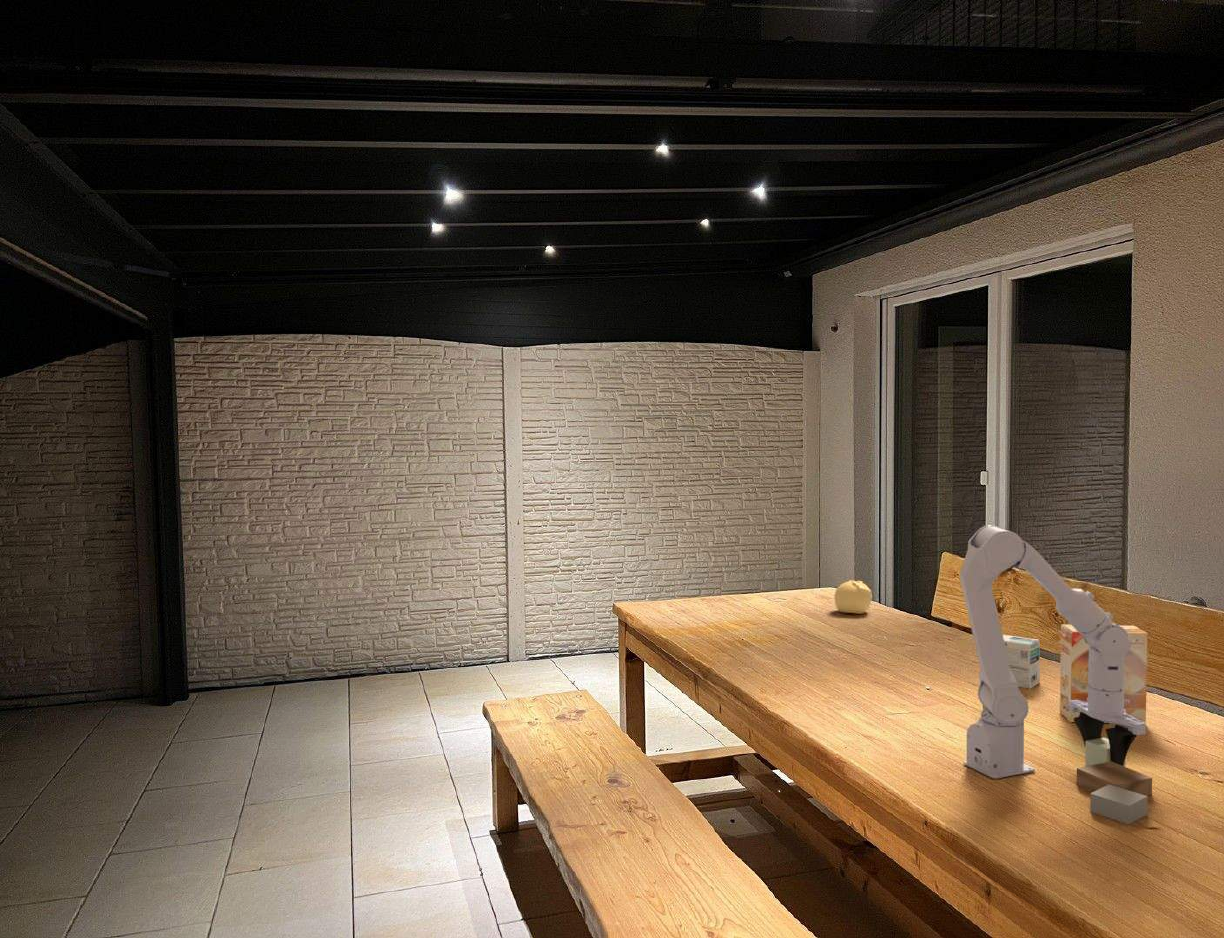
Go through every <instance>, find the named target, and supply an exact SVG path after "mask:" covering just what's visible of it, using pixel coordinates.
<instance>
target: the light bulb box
mask: <svg viewBox="0 0 1224 938" xmlns="http://www.w3.org/2000/svg"><path fill="white" fill-rule="evenodd" d="M1003 638H1004V643H1005V647H1006V651H1007V656H1008V660H1009V664H1010V668H1011V671H1012V673H1013V675H1014V677H1015V679H1016V681H1017V684H1018V688H1024V689H1032V688H1034V687H1036V686H1037V685H1038V684H1040V683H1041V667H1040V666H1041V663H1040V662H1041V661H1040V660H1041V659H1040V656H1041V654H1040V653H1041V652H1040V650H1041V647H1040V646H1041V644H1040V643H1041V642H1040V641H1041V640H1040V639H1038V638H1030V637H1029V638H1028V637H1023V636H1014V635H1008V634H1003Z"/></svg>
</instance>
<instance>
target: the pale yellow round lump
mask: <svg viewBox="0 0 1224 938" xmlns="http://www.w3.org/2000/svg"><path fill="white" fill-rule="evenodd" d="M872 600H873V592H872V590H871V589H870V588H869V586H868V585H867V584H865V583H864V582H863V581H862V580H857V581H856V580H854V579H853V580H852V579H849V580H848V581H846V582H842V583H841V584H840V585H839V586H838V587H837V588H836V590H835V592H834V604H835V607H836V609H837V610H838V611H839V612H840V613H846V614H847V613H848V614H850V613H851V614H857V615H858V614H859V615H862V614H865V613H866V612H867V611H868V610H869V609H870V608H871V603H872Z"/></svg>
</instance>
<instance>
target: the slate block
mask: <svg viewBox="0 0 1224 938" xmlns="http://www.w3.org/2000/svg"><path fill="white" fill-rule="evenodd" d="M1089 800H1090V802H1089V804H1090V806H1089V807H1090V813H1093V814H1096V815H1099V816H1102V817H1105V818H1109V819H1111V820H1113V821H1114V820H1115V821H1117V822H1120V823H1124V824H1126V825H1129V826H1130V825H1131V824H1133V823H1135V822H1136V821H1138V820H1140V819H1141V818H1144V817H1145V816H1148V796H1145V795H1142V794H1138V793H1135V792H1132V791H1129V790H1126V789H1122V788H1119V787H1116V786H1113V785H1107V786H1105V787H1103V788H1101V789H1099V790H1097V791H1095V792H1091V793H1090V799H1089Z"/></svg>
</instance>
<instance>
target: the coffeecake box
mask: <svg viewBox="0 0 1224 938" xmlns="http://www.w3.org/2000/svg"><path fill="white" fill-rule="evenodd" d="M1117 625H1118V624H1117ZM1118 626H1120V627H1122V628H1123V629H1125V630H1126V632H1127V633H1128V638H1129V640H1130V641H1132V644H1131V648H1130V649H1129V651H1128V652H1127V653H1126V654H1125V662H1124V664H1125V677H1124V710H1126V713H1127V714H1128V715H1130V716H1132V717H1134V718H1135V719H1137V720H1139V721H1141V722H1144V723H1146V722H1147V719H1146V718H1147V685H1148V684H1147V681H1148V680H1147V677H1148V675H1147V674H1148V671H1147V670H1148V668H1147V667H1148V632H1146V631H1145V630H1144V629H1140V628H1139V627H1137V626H1135V625H1121V624H1120V625H1118ZM1089 647H1091V646H1090V645H1089V644H1087V643H1085V641H1084V639H1083V636H1082V635H1081V634H1080V633H1079V632H1078V631H1077V630H1076V629H1075V628H1074V627H1073V626H1072V625H1071V624H1060V664H1059V667H1060V671H1059V672H1060V673H1059V679H1060V680H1059V683H1060V684H1059V685H1060V686H1059V713H1060V714H1061V715H1062V716H1063V715H1064V717H1066V718H1067V719H1066V718H1065V719H1066V720H1067V721H1068V722H1069V723H1070V722H1074V718H1076V717H1079V715H1080V713H1078V712H1071V711H1069V701H1071V700H1080V701H1083V702H1088V667H1089V664H1088V662H1089ZM1091 648H1093V647H1091ZM1093 649H1094V648H1093ZM1095 650H1096V649H1095ZM1104 723H1106V722H1104ZM1146 724H1147V723H1146Z"/></svg>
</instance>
